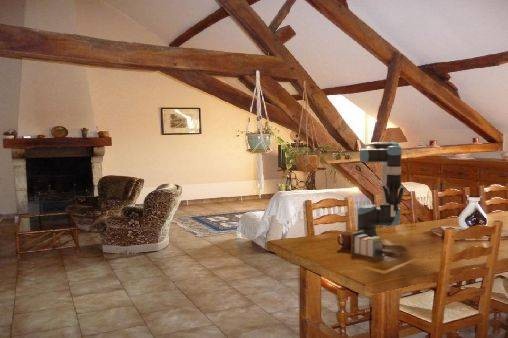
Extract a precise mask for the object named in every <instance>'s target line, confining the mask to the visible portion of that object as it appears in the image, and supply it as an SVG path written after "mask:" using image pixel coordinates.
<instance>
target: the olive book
mask: <svg viewBox="0 0 508 338" xmlns="http://www.w3.org/2000/svg"><path fill="white" fill-rule="evenodd" d="M378 241H382V237H381V236H378V237H377V236H374V237H370V238H367V256H369V257H368V258H371V257H373V243H375V242H378Z"/></svg>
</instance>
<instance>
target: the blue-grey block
mask: <svg viewBox="0 0 508 338" xmlns="http://www.w3.org/2000/svg"><path fill="white" fill-rule="evenodd" d="M365 237H368V235H366V234H360V235H356V236H354V253H356V254H355V255H357V254H360V239H362V238H365Z"/></svg>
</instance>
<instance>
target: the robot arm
mask: <svg viewBox="0 0 508 338" xmlns="http://www.w3.org/2000/svg"><path fill="white" fill-rule="evenodd" d="M402 153H403V152H402V146H400V145H399V143H398V142H394V141H389V142H388V141H387V142H385V141H383V142H382V141H380V142H379V141H375V142H370V143H367V144H364V145H362V147H361V149H360V150H359V161H360V162H363V163H379V164H380V165H381V172H382V173H381V202H380V204H379V207H378V206H377V205H376V204H365V205H361V206H359V207H358V208H357V214H356V215H357V229H356V232H358V231H364V234H366V235H368V237H374V236H377V237H379V236H378V232H377V226H388V227H393V226H394V227H396V226H398V225H399V223H400V219H401V207H399V205H401V203H402V199H403V194H404V192H405V190H406V187H405V186H403V185H402V181H401V180H402V175H401V174H402Z"/></svg>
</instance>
